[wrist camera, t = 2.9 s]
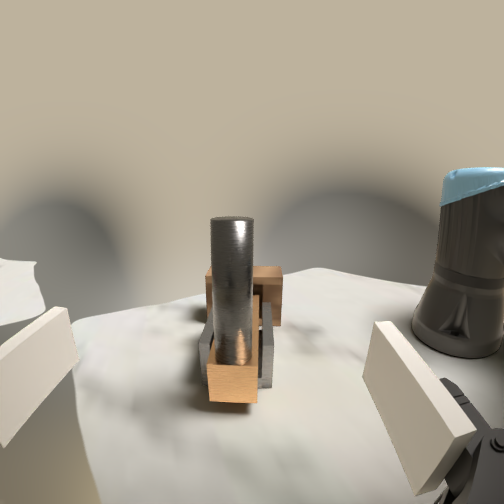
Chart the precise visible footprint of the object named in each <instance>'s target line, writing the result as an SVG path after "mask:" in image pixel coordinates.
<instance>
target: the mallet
mask: <svg viewBox="0 0 504 504" xmlns="http://www.w3.org/2000/svg"><path fill="white" fill-rule="evenodd" d="M253 223H254V219H252V218H248V217H216V218H212V219H211V269H212V299H213V323H214V339H213V343H212V346H211V350H210V354H209V357H208V361H207V376H208V388H209V399H210V401H218V402H236V403H257V385H258V337H259V295H253Z"/></svg>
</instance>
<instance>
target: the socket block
mask: <svg viewBox="0 0 504 504" xmlns="http://www.w3.org/2000/svg"><path fill="white" fill-rule="evenodd" d="M205 277H206V278H205V279H206V303H207V319H208V316H209V313H210V311H211V308H212V305H213V299H212V269H211V267H210V269H209V270H208V272H207V274H206V276H205ZM282 286H283V276H282V271H281V267H279V266H278V267H277V266H253V295H259V326H262V302H271V312H272V325H273V326H281V308H282Z"/></svg>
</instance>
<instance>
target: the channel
mask: <svg viewBox="0 0 504 504" xmlns="http://www.w3.org/2000/svg"><path fill="white" fill-rule="evenodd" d="M213 339H214V323H213V305H212V308H211V311H210V313H209V316H208V319H207V322H206V324H205V327H204V330H203V332H202V335H201V338H200V341H199V354H200V365H201V376H202V385H208V376H207V361H208V357H209V354H210V350H211V346H212V343H213ZM273 356H274V338H273V325H272V312H271V302H262V330H259V337H258V385H257V388H272V374H273Z"/></svg>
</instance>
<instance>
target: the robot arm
mask: <svg viewBox="0 0 504 504" xmlns="http://www.w3.org/2000/svg"><path fill="white" fill-rule="evenodd" d="M440 207H441V214H440V225H439V235H438V244H437V252H436V258H435V266H434V271H433V276H432V278H431V280H430V282H429V284H428V286H427V288H426V290H425V292H424V294H423V296H422V298H421V300H420V302H419V304H418V305H417V307H416V309H415V311H414V316H413V321H412V329H413V331H414V333H415V335H416V336H417V337H418V338H419V339H420V340H421V341H423V342H424V343H425V344H427V345H429V346H430V347H432V348H434V349H436V350H438V351H441V352H443V353H446V354H450V355H453V356H458V357H465V358H479V357H485V356H488V355H491V354H493V353H494V352H496V351H497V350H498V349H499V347H500V344H501V341H502V338H503V335H504V168H492V167H491V168H490V167H488V168H487V167H485V168H465V169H458V170H454V171H451V172H449V173H448V174H447V175H446V176H445V178H444V181H443V189H442V198H441V202H440ZM78 361H79V356H78V352H77V349H76V345H75V341H74V337H73V333H72V329H71V324H70V320H69V315H68V310H67V308H63V307H57V306H55V307H53V308H52V309H50V310H49V311H47V312H46V313H45V314H43V315H42V316H40V317H39V318H38V319H36V320H35V321H34V322H32V323H31V324H29V325H28V326H26V327H25V328H24V329H22V330H21V331H20V332H19V333H17V334H16V335H14V336H13V337H12V338H10V339H9V340H8V341H6V342H5V343H4V344H2V345H1V346H0V446H1V447H3V448H5V446H6V445H7V444H8V443H9V441H10V440H11V439H12V438H13V436H14V435H15V434H16V433H17V431H18V430H19V429H20V428H21V427H22V425H23V424H24V423H25V422H26V420H27V419H28V418H29V417H30V416H31V415H32V413H33V412H34V411H35V410H36V409H37V407H38V406H39V405H40V404H41V403H42V402H43V400H44V399H45V398H46V397H47V396H48V395H49V393H50V392H51V391H52V390H53V389H54V388H55V386H56V385H57V384H58V383H59V382H60V381H61V380H62V379H63V378H64V376H65V375H66V374H67V373H68V372H69V371H70V370H71V369H72V368H73V366H74V365H75V364H76V363H77V362H78ZM362 377H363V379H364V382H365V384H366V386H367V388H368V390H369V392H370V394H371V397H372V399H373V401H374V403H375V405H376V407H377V410H378V412H379V414H380V416H381V418H382V421H383V423H384V425H385V427H386V429H387V432H388V434H389V436H390V438H391V441H392V443H393V445H394V448H395V450H396V452H397V455H398V457H399V459H400V462H401V464H402V466H403V469H404V471H405V473H406V476H407V478H408V481H409V483H410V486H411V488H412V490H413V493H414V495H415V496H417V495H421V494H424V493H427V492H430V491H433V490H436V489H437V487H438V486H439V485H440V484H441V482H442V481H443V480H444V479H445V481H446V483H447V485H448V486H447V488H446V489H445V490H444V491H443V493H442V494H441V495H440V496H439V497H438V498H437V500H436V501H435V503H434V504H438V502H439V501H440V503H439V504H504V429H499V428H495V429H491V428H490V426H489V425H488V424H487V422H486V421H485V420H484V419H483V417H482V416H481V415H480V413H479V412H478V411H477V410H476V408H475V407H474V406H473V405H472V403H470V401H469V400H468V398H467V397H466V396H464V393H463V392H462V391H461V390H460V389H459V387H458V386H457V385H456V384H454V383H453V382H451V381H450V380H448V379H447V378H442V379H438V377H437V376H436V375H435V374H434V372H433V371H432V370H431V369H430V367H429V366H428V365H427V364H426V362H425V361H424V360H423V359H422V358H421V356H420V355H419V354H418V353H417V351H416V350H415V349H414V348H413V347H412V345H411V344H410V343H409V342H408V341H407V339H406V338H405V337H404V336H403V335H402V334H401V332H400V331H399V330H398V329H397V328H396V326H395V325H394V324H393V323H392V322H391V321H382V322H374V326H373V331H372V336H371V341H370V346H369V350H368V355H367V359H366V364H365V368H364V372H363V376H362Z"/></svg>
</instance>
